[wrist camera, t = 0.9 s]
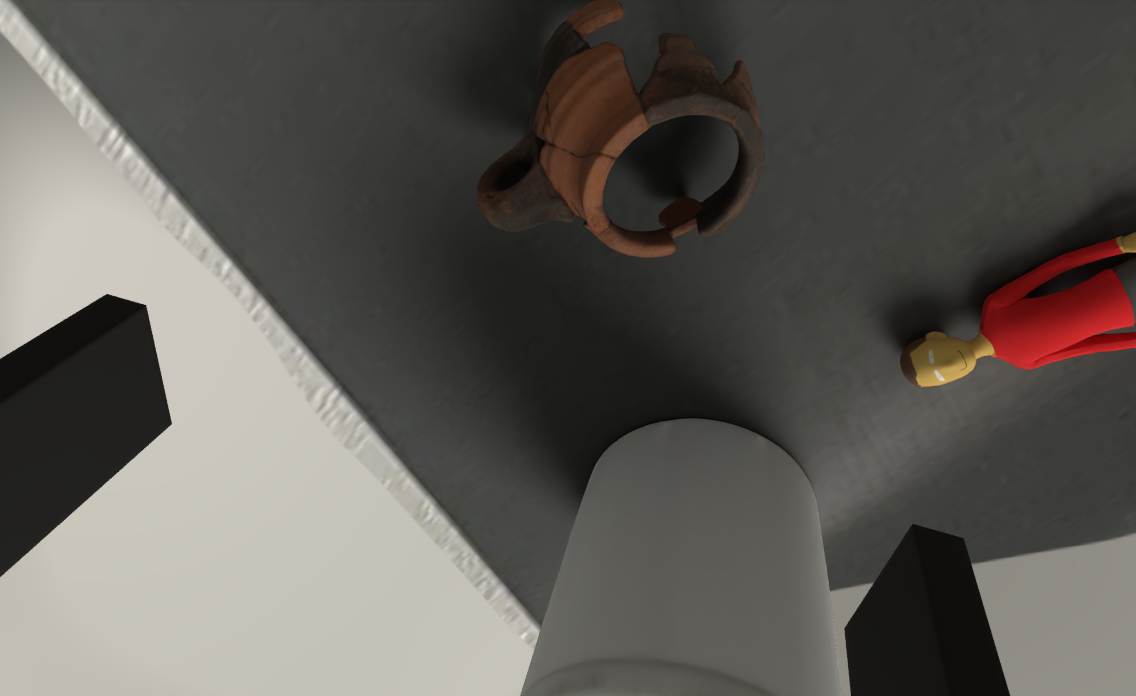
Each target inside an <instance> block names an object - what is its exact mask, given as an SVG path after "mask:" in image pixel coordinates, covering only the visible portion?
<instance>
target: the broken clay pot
mask: <svg viewBox="0 0 1136 696" xmlns="http://www.w3.org/2000/svg"><path fill="white" fill-rule="evenodd" d="M623 15H624V10H623V7H622V5H621V3H620V2H618V1H616V0H595V1H592V2H591V3H588V4H587V5H585V6H583V7H582V8H580V9H579V10H577V11H576V12H575V13H573V14H572V15H571V16H570V17H569V18H568V19H567V20H566V21H565V22H563V23H562V24H561V25H560V26H559V27H558V28H557V30H556V31H555V32H554V34H553V35H552V37H551V38H550V40H549V41H548V43H547V45H546V47H545V49H544V52H543V54H542V56H541V59H540V63H539V67H538V72H537V82H536V87H535V90H534V94H533V97H532V103H531V110H530V114H529V116H528V123H529V129H528V130H527V132H526V134H525V136H524V137H523V138H522V140H521V141H520V142H519V143H518V144H517V145H516V146H515V147H514V148H513V149H512V150H510V151H508V152H507V153H505V154H504V155H503V156H501V157H500V158H499V159H498V160H496V161H495V162H494V163H493V164H492V165H491V166H490V167H489V168H488V169H487V170H486V171H485V172H484V174H483V175H482V177H481V178H480V180H479V183H478V185H477V202H476V203H477V205H478V206H479V207H480V211H481V213H482V214H483V215H484V216H485V217H486V218H487V219H488V221H489V222H490V223H491V224H492V225H493V226H495V227H498V228H500V229H503V230H506V231H512V232H518V231H524V230H528V229H531V228H533V227H536V226H538V225H540V224H542V223H544V222H548V221H552V220H563V221H567V222H572V221H574V220H575V218H576V215H577V216H578V217H582V218H584V219H585V222H584V224H583V226H584V227H586V228H587V229H588V230H590V231H592V233H593V234H594V235H595V236H596V237H597V238H598V239H599V240H601V241H602V242H603V243H604V244H605V245H607V246H609V247H610V248H612V249H614V250H615V251H617V252H620V253H623V254H625V255H628V256H636V257H646V258H652V257H661V256H667V255H671V254H673V253H675V252H676V246H675V243H674V241H673V239H672V238H673V237H676V236H678V235H681V234H683V233H686V232H688V231H689V230H691V229H693V228H694V227H696V226H697V227H698V232H699V234H700V235H702V236H713V235H716V234H717V233H719V232H720V231H721V230H722V229H723V228H725V227H726V226H727V225H728V224H729V223H730V222H731V221H732V220H733V219H734V218H735V217H736V215H737V214H738V213H739V212H740V211H741V210H742V209H743V208H744V206H745V205H746V203H747V202H748V201H749V199H750V197H751V196H752V194H753V192H754V190H755V187H756V185H757V182H758V180H759V172H760V171H761V169H762V163H763V160H764V152H763V151H764V150H763V148H764V146H763V137H762V133H761V130H760V116H759V112H758V107H757V104H756V101H755V96H754V92H753V88H752V85H751V81H750V77H749V74H748V72H747V69H746V67H745V65H744V62H743V61H742V60H739V61H737V62H736V63H735V65H734V69H733V71H732V74H731V75H730V76H729V77H728V78H727V79H726V80H725V81H724V82H723V84H722V85H720V83H719V79H718V74H717V70H716V68H715V67H714V66H713V64H712V62H711V60H710V59H709V58H708V57H707V56H706V55H704V54H703V53H701V52H700V51H698V50H697V48H696V47H695V44H694V42H693V41H692V40H691V38H690V37H688V36H686V35H680V34H673V33H665V34H662V35H661V36H660V37H659V49H660V54H661V56H660V57H659V58H658V60H657V62H656V63H655V65H654V68H653V71H652V73H651V75H650V77H649V79H648V81H647V82H646V83H645V85H644V87H643V89H642V90H641V92H640V93H637V92H636V90H635V87H634V84H633V81H632V79H631V77H630V75H629V72H628V69H627V65H626V63H625V57H624V53H623V51H622V49H621V48H620V47H617V46H616V45H614V44H611V43H607V42H605V43H601V44H599V45H597V46H595V47H594V48H592V49H591V48H590V46H589V44H588V43H587V42H586V41H584V40H583V39H582V37H584V36H585V35H587V34H589V33H591V32H592V31H594V30H596V29H598V28H600V27H602V26H604V25H607V24H609V23H611V22H614V21H616V20H619V19H621V18H622V17H623ZM685 115H706V116H711V117H714V118H718V119H720V120H723V121H726V123H728V124H729V125H730V126H731V127H732V128H733V130H734V131H735V133H736V135H737V138H738V143H739V155H738V160H737V163H736V166H735V169H734V171H733V173H732V175H731V177H730V179H729V180H728V181H727V182H726V183H725V184H724V185H723V186H722V187H721V188H720V189H719V190H718V191H716V192H715V193H714V194H713V195H711V196H710V197H708V198H707V199H705V200H704V201H703V202H701V203H700V202H698V201H697V200H695V199H692V198H690V197H688V196H683V197H680V198H678V199H677V200H675V201H674V202H673V203H671V204H670V205H669V206H668V207H667V208H665V209H664V210H663V211H662V212H661V213H660V214H659V222H660V224H661V225H662V226H664V227H666V228H663V229H659V230H654V231H642V232H640V231H629V230H625V229H623V228H620V227H619V226H617V225H615V224H614V223H613V222H612V221H611V220H610V219H609V217H608V216H606V213H605V210H604V207H603V191H604V186H605V182H606V179H607V176H608V174H609V171H610V169H611V167H612V166H613V164H614V162H615V160H616V158H617V157H618V156H619V155H620V154H621V153H622V152H623V150H624V149H625V148H626V147H627V146H628V145H629V144H630V143H631V142H632V141H633V140H635V139H636V138H637V137H638V136H640V135H641V134H642V133H644V132H645V131H647V130H648V129H649V128H650V127H651V126H652V125H654V124H658V123H661V122H664V121H666V120H669V119H672V118H675V117H679V116H685Z"/></svg>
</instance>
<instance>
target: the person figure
mask: <svg viewBox="0 0 1136 696" xmlns="http://www.w3.org/2000/svg"><path fill="white" fill-rule="evenodd" d="M1126 252H1136V232H1134V233H1132V234H1130V235H1128V236H1125V237H1123V236H1120V237H1117V238H1114V239H1111V240H1108V241H1105V242H1101V243H1098V244H1095V245H1091V246H1088V247H1085V248H1081V249H1078V250H1074V251H1072V252H1069V253H1066V254H1063V255H1061V256H1058V257H1056V258H1054V259H1052V260H1050V261H1048V262H1046V263H1044V264H1043V265H1041V266H1039V267H1038V268H1036V269H1034V270H1032V271H1031V272H1029V273H1027V274H1025V275H1023V276H1021V277H1020V278H1018V279H1016V280H1014V281H1012V282H1010V283H1008V284H1006V285H1005V286H1003V287H1001V288H1000V289H998V290H996V291H995V292H993V293H992V294H990V295H989V296H988V297H987V298H986V300H985V301H984V304H983V308H982V315H981V324H980V329H979V332H978V333H979V335H978V336H977V337H976V338H974V339H972V340H970V341H962V340H961V339H958V338H954V337H947V336H946V335H945V334H944V333H941V332H930V333H928V334H927V335H926V337H924V338H921V339H918V340H916V341H914V342H912V343H910V344H909V345H908V346H907V347H906V348H905V349H904V350H903V352H902V354H901V358H900V364H901V369H902V372H903V374H904V375H905V377H906V378H907V379H908V380H909V381H910V382H911V383H912V384H914V385H916V386H919V387H921V388H931V387H936V386H939V385H941V384H945V383H947V382H950V381H953V380H955V379H958V378H961V377H963V376H965V375H966V374H968V373H969V372H970V371H972V370H973V368H974V366H975V364H976V359H977V358H979V357H982V356H987V355H991V356H992V357H996V358H1000V359H1003V360H1005V361H1006V362H1008V363H1010V364H1012V365H1014V366H1016V367H1019V368H1023V369H1034V368H1036V367H1039V366H1042V365H1045V364H1048V363H1051V362H1054V361H1058V360H1062V359H1066V358H1070V357H1074V356H1079V355H1084V354H1091V353H1094V352H1103V351H1114V350H1122V349H1128V348H1135V347H1136V332H1132V333H1116V334H1101V335H1095V334H1098V333H1101V332H1105V331H1109V330H1112V329H1117V328H1123V327H1128V326H1134V324H1135V323H1136V258H1133V259H1131V260H1128V261H1126V262H1124V263H1121V264H1119V265H1117V266H1115V267H1113V268H1111V269H1105V270H1103V271H1102V272H1100V273H1099V274H1097V275H1095V276H1094V277H1092V278H1090V279H1088V280H1086V281H1084V282H1082V283H1080V284H1079V285H1077V286H1074V287H1072V288H1070V289H1067V290H1064V291H1060V292H1056V293H1052V294H1049V295H1046V296H1042V297H1037V298H1023V297H1024V296H1026V295H1027V294H1028V293H1029V292H1031V291H1032V290H1034V289H1035V288H1037V287H1038V286H1040V285H1041V284H1043V283H1045V282H1047V281H1048V280H1050V279H1052V278H1053V277H1055V276H1057V275H1058V274H1060V273H1062V272H1064V271H1067V270H1070V269H1073V268H1075V267H1078V266H1081V265H1084V264H1087V263H1091V262H1094V261H1097V260H1100V259H1104V258H1107V257H1111V256H1114V255H1119V254H1123V253H1126ZM1022 298H1023V299H1022Z"/></svg>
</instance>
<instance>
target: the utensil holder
mask: <svg viewBox="0 0 1136 696" xmlns="http://www.w3.org/2000/svg"><path fill="white" fill-rule="evenodd" d="M520 696H843V695H842V687H841V679H840V672H839V665H838V657H837V649H836V641H835V633H834V624H833V615H832V606H831V598H830V590H829V583H828V575H827V569H826V562H825V555H824V548H823V542H822V534H821V527H820V520H819V514H818V507H817V502H816V498H815V494H814V491H813V488H812V486H811V484H810V482H809V480H808V478H807V477H806V475H805V473H804V472H803V470H802V469H801V467H800V466H799V465H798V464H797V463H796V461H795V460H794V459H793V458H792V457H791V456H790V455H788V454H787V453H786V452H785V451H784V450H783V449H781V448H780V447H779V446H777V445H776V444H774V443H773V442H771V441H770V440H768V439H766V438H764V437H762V436H761V435H759V434H757V433H754V432H752V431H750V430H747V429H745V428H742V427H739V426H736V425H733V424H729V423H725V422H721V421H716V420H708V419H696V418H687V419H677V420H669V421H662V422H658V423H654V424H650V425H646V426H644V427H641V428H639V429H636V430H634V431H632V432H630V433H628V434H626V435H625V436H623V437H621V438H620V439H619V440H617V441H616V442H615V443H613V444H612V445H611V446H610V447H609V448H608V449H607V450H606V451H605V452H604V453H603V454H602V456H601V457H600V458H599V460H598V461H597V463H596V465H595V467H594V469H593V471H592V474H591V477H590V479H589V482H588V485H587V488H586V490H585V493H584V496H583V499H582V502H581V505H580V508H579V511H578V514H577V517H576V520H575V523H574V526H573V529H572V532H571V535H570V538H569V541H568V545H567V548H566V551H565V554H564V558H563V561H562V564H561V568H560V571H559V574H558V577H557V580H556V583H555V586H554V590H553V593H552V596H551V599H550V602H549V605H548V608H547V612H546V615H545V618H544V621H543V624H542V627H541V630H540V633H539V637H538V640H537V643H536V646H535V650H534V653H533V656H532V660H531V663H530V666H529V669H528V672H527V676H526V679H525V682H524V685H523V688H522V692H521V695H520Z"/></svg>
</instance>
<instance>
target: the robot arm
mask: <svg viewBox="0 0 1136 696" xmlns="http://www.w3.org/2000/svg"><path fill="white" fill-rule="evenodd" d="M171 424H172V422H171V418H170V413H169V409H168V404H167V399H166V394H165V390H164V385H163V381H162V376H161V371H160V367H159V362H158V358H157V353H156V348H155V344H154V339H153V335H152V330H151V325H150V321H149V316H148V311H147V307H146V305H144V304H140V303H136V302H133V301H130V300H126V299H122V298H119V297H116V296H112V295H109V294H106V295H105V296H103V297H101V298H99V299H98V300H96V301H95V302H93V303H91V304H90V305H88V306H87V307H85V308H83V309H81V310H80V311H78V312H76V313H75V314H73V315H72V316H70V317H68V318H67V319H65V320H63V321H62V322H60V323H59V324H57V325H55V326H54V327H52V328H50V329H49V330H47V331H45V332H44V333H42V334H40V335H39V336H37V337H35V338H34V339H32V340H31V341H29V342H27V343H26V344H24V345H23V346H21V347H19V348H17V349H16V350H14V351H12V352H11V353H9V354H7V355H6V356H4V357H3V358H1V359H0V577H1V576H2V575H3V574H4V573H5V572H6V571H8V570H9V569H10V568H11V567H12V566H13V565H14V564H15V563H17V562H18V561H19V560H20V559H21V558H22V557H23V556H24V555H26V554H27V553H28V552H29V551H30V550H31V549H32V548H33V547H35V546H36V545H37V544H38V543H39V542H40V541H41V540H42V539H44V538H45V537H46V536H47V535H48V534H49V533H50V532H51V531H52V530H53V529H55V528H56V527H57V526H58V525H59V524H60V523H61V522H62V521H64V520H65V519H66V518H67V517H68V516H69V515H70V514H72V512H74V511H75V510H76V509H77V508H78V507H79V506H80V505H82V504H83V503H84V502H85V501H86V500H87V499H88V498H89V497H91V496H92V495H93V494H94V493H95V492H96V491H97V490H98V489H100V488H101V487H102V486H103V485H104V484H105V483H106V482H107V481H109V479H111V478H112V477H113V476H114V475H115V474H116V473H117V472H119V471H120V470H121V469H122V468H123V467H124V466H125V465H127V463H129V462H130V461H131V460H132V459H133V458H134V457H135V456H137V455H138V454H139V453H140V452H141V451H142V450H143V449H144V448H145V447H147V446H148V445H149V444H150V443H151V442H152V441H153V440H154V439H156V438H157V437H158V436H159V435H160V434H161V433H162V432H163V431H165V430H166V429H167V428H168V427H169V426H170V425H171ZM845 639H846V649H847V658H848V670H849V679H850V690H851V696H1010V694H1009V690H1008V687H1007V684H1006V680H1005V677H1004V673H1003V670H1002V667H1001V663H1000V660H999V657H998V653H997V650H996V646H995V643H994V640H993V636H992V633H991V629H990V626H989V623H988V620H987V616H986V613H985V609H984V606H983V602H982V599H981V596H980V592H979V589H978V585H977V582H976V579H975V576H974V572H973V569H972V565H971V562H970V558H969V555H968V552H967V548H966V545H965V541H964V538H961V537H957V536H954V535H950V534H947V533H943V532H940V531H936V530H932V529H929V528H925V527H922V526H918V525H915V524H912V526H911V527H910V529H909V530H908V532H907V533H906V535H905V536H904V538H903V539H902V541H901V543H900V544H899V546H898V547H897V549H896V550H895V552H894V553H893V555H892V556H891V558H890V559H889V561H888V562H887V564H886V566H885V567H884V569H883V570H882V572H881V573H880V575H879V576H878V578H877V579H876V581H875V582H874V584H873V586H872V587H871V589H870V590H869V592H868V593H867V595H866V596H865V598H864V599H863V601H862V602H861V604H860V605H859V607H858V608H857V610H856V612H855V613H854V615H853V616H852V618H851V619H850V621H849V622H848V624H847V625H846V627H845Z"/></svg>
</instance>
